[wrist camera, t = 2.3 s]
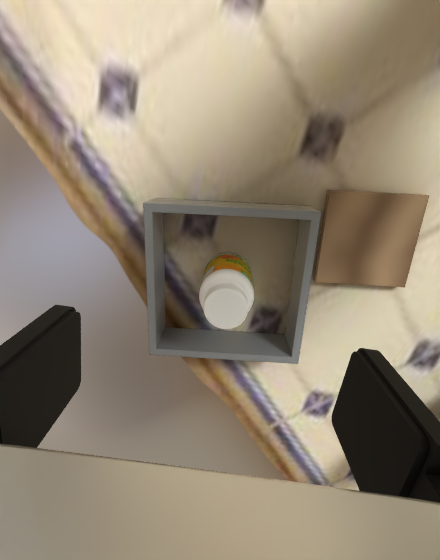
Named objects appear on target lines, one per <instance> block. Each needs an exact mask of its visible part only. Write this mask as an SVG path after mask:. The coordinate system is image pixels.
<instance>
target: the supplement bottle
mask: <svg viewBox="0 0 440 560" xmlns="http://www.w3.org/2000/svg"><path fill="white" fill-rule="evenodd" d="M199 300H200V304H201V306H202V308H203V310H204V314H205V317H206V319H207V320H208V321H209V322H210V323H211V324H212V325H213V326H215V327H217V328H220V329H232V328H235V327H237V326H239V325H240V324H241V323H243V321H244V320H245V319H246V317H247V314H248V312H249V311H250V309H251V307H252V305H253V301H254V289H253V283H252V277H251V271H250V268H249V265H248V264H247V262H246V261H245V260H244V259H243V258H242V257H240V256H238V255H236V254H232V253H224V254H220V255H218V256H216V257H214V258H213V259H212V260H211V261H210V262H209V264H208V265H207V267H206V270H205V273H204V277H203V280H202V284H201V287H200V292H199Z"/></svg>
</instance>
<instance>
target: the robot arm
mask: <svg viewBox="0 0 440 560" xmlns="http://www.w3.org/2000/svg"><path fill="white" fill-rule="evenodd" d="M80 382H81V317H80V313H79V312H76V310H75V308H74V307H68V306H61V305H54V306H53V307H52V308H50V309H49V310H47V311H46V312H45V313H44V314H42V315H41V316H40V317H38V318H37V319H35V320H34V321H33V322H31V323H30V324H29V325H27V326H26V327H25V328H23V329H22V330H21V331H19V332H18V333H17V334H15V335H14V336H13V337H11V338H10V339H9V340H7V341H6V342H4V343H3V344H2V345H0V560H440V422H439V421H438V420H437V418H436V417H435V416H434V415H433V414H432V412H431V411H430V410H429V409H428V408H427V407H426V405H425V404H424V403H423V402H422V401H421V400H420V398H419V397H418V396H417V395H416V394H415V393H414V391H413V390H412V389H411V388H410V387H409V386H408V384H407V383H406V382H405V381H404V380H403V378H402V377H401V376H400V375H399V374H398V373H397V371H396V370H395V369H394V368H393V367H392V366H391V364H390V363H389V362H388V361H387V360H386V359H385V357H384V356H383V355H382V354H381V353H380V352H379V351H377V350H371V349H364V348H360V349H358V351H357V352H353V353H352V355H351V358H350V361H349V364H348V367H347V370H346V373H345V376H344V379H343V382H342V385H341V388H340V392H339V395H338V398H337V401H336V404H335V407H334V410H333V413H332V424H333V427H334V430H335V432H336V434H337V437H338V439H339V442H340V444H341V446H342V449H343V451H344V454H345V456H346V459H347V461H348V463H349V466H350V468H351V471H352V473H353V475H354V478H355V480H356V483H357V485H358V488H359V490H360V491H357V490H349V489H342V488H335V487H328V486H321V485H314V484H307V483H299V482H292V481H285V480H277V479H271V478H262V477H256V476H248V475H241V474H233V473H226V472H218V471H210V470H204V469H196V468H188V467H181V466H173V465H165V464H158V463H150V462H142V461H135V460H127V459H119V458H111V457H103V456H95V455H87V454H80V453H72V452H64V451H55V450H48V449H40V448H37V447H38V445H39V444H40V442H41V441H42V440H43V438H44V437H45V435H46V434H47V432H48V431H49V430H50V428H51V427H52V425H53V424H54V423H55V421H56V420H57V418H58V417H59V416H60V414H61V413H62V411H63V410H64V408H65V407H66V405H67V404H68V403H69V401H70V400H71V398H72V397H73V396H74V394H75V393H76V392H77V390H78V388H79V386H80Z"/></svg>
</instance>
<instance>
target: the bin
mask: <svg viewBox="0 0 440 560" xmlns="http://www.w3.org/2000/svg"><path fill="white" fill-rule="evenodd" d="M143 208H144V233H145V258H146V282H147V307H148V331H149V354H150V355H167V356H181V357H197V358H213V359H229V360H245V361H260V362H276V363H292V364H298V361H299V354H300V348H301V341H302V335H303V328H304V322H305V315H306V309H307V302H308V296H309V289H310V283H311V276H312V270H313V263H314V257H315V250H316V243H317V237H318V230H319V224H320V217H321V211H319V210H317V209H315V208H312V207H310V206H302V205H282V204H262V203H241V202H221V201H201V200H181V199H160V198H156V199H153V200H150V201H147V202H144V203H143ZM164 213H182V214H202V215H222V216H242V217H262V218H281V219H300V221H299V228H298V236H297V244H296V251H295V259H294V267H293V274H292V282H291V289H290V297H289V305H288V312H287V320H286V328H285V334H271V333H254V332H238V331H221V330H205V329H188V328H172V327H166V314H165V260H164Z"/></svg>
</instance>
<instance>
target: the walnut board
mask: <svg viewBox="0 0 440 560" xmlns="http://www.w3.org/2000/svg"><path fill="white" fill-rule="evenodd" d="M428 198H429V195H417V194H396V193H376V192H355V191H334V190H327V196H326V202H325V209H324V215H323V222H322V228H321V234H320V241H319V247H318V254H317V260H316V266H315V273H314V281H315V282H323V283H341V284H359V285H377V286H395V287H405V284H406V281H407V277H408V273H409V269H410V266H411V262H412V258H413V254H414V251H415V247H416V243H417V239H418V236H419V232H420V228H421V224H422V221H423V217H424V213H425V209H426V206H427V202H428Z"/></svg>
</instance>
